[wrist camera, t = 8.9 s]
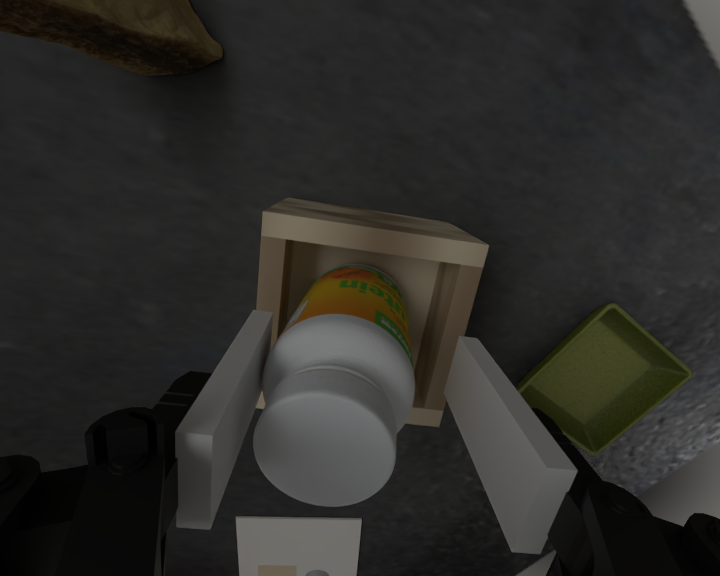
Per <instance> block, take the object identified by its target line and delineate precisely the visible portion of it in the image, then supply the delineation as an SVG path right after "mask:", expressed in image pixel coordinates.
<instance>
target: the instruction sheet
mask: <svg viewBox="0 0 720 576" xmlns="http://www.w3.org/2000/svg"><path fill="white" fill-rule="evenodd" d="M361 523H362V518H324V517H258V516H236V529H237V545H238V561H239V576H357V566H358V555H359V545H360V534H361Z"/></svg>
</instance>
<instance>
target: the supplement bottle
mask: <svg viewBox="0 0 720 576" xmlns="http://www.w3.org/2000/svg"><path fill="white" fill-rule="evenodd" d="M262 390H263V397H264V401H265V407H264V409H263V411H262V413H261V415H260V418H259V420H258V422H257V425H256V427H255V431H254V437H253V449H254V454H255V458H256V461H257V463H258V465H259V467H260V469H261V471H262V472H263V474H264V475H265V476H266V478H267V479H268V480H269V481H270V482H271V483H272V484H273V485H274V486H275V487H277V488H278V489H279V490H281V491H282V492H284V493H285V494H287V495H289V496H291V497H293V498H295V499H297V500H299V501H302V502H305V503H309V504H313V505H318V506H329V507H337V506H346V505H351V504H355V503H358V502H360V501H363V500H365V499H367V498H369V497H371V496H372V495H374V494H375V493H377V492H378V491H379V490H380V489H381V488H382V487H383V486H384V485H385V484H386V482H387V481H388V480H389V478H390V476H391V474H392V472H393V469H394V465H395V461H396V435H397V433H398V432H399V431H400V430H401V428H402V427H403V426H404V424H405V423H406V421H407V419H408V417H409V415H410V412H411V409H412V406H413V401H414V395H415V376H414V367H413V359H412V350H411V340H410V331H409V319H408V311H407V305H406V301H405V298H404V295H403V293H402V291H401V290H400V288H399V286H398V285H397V284H396V283H395V281H394V280H393V279H392V278H391V277H389V276H388V275H387V274H386V273H384V272H382V271H381V270H379V269H377V268H374V267H371V266H368V265H364V264H345V265H340V266H337V267H334V268H332V269H330V270H328V271H326V272H325V273H323V274H322V275H321V276H320V277H319V278H318V279H317V280H316V281H315V282H314V283H313V285H312V286H311V287H310V289H309V290H308V292H307V293H306V295H305V297H304V298H303V300H302V301H301V303H300V305H299V306H298V308H297V309H296V311H295V313H294V314H293V316H292V317H291V319H290V321H289V322H288V324H287V326H286V327H285V329H284V330H283V332H282V333H281V335H280V336H279V338H278V339H277V341H276V342H275V344H274V346H273V347H272V350H271V352H270V353H269V355H268V357H267V360H266V363H265V366H264V370H263V376H262Z"/></svg>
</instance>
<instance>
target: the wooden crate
mask: <svg viewBox="0 0 720 576" xmlns="http://www.w3.org/2000/svg"><path fill="white" fill-rule="evenodd" d="M488 248H489V245H488V244H486V243H484V242H483V241H481V240H479V239H477V238H475V237H474V236H472V235H470V234H468V233H467V232H465V231H463V230H461V229H459V228H458V227H456V226H454V225H452V224H450V223H449V222H444V221H438V220H431V219H425V218H418V217H412V216H405V215H399V214H392V213H386V212H379V211H373V210H366V209H360V208H353V207H347V206H341V205H334V204H328V203H321V202H315V201H308V200H302V199H295V198H289V197H288V198H286V199H284V200H282V201H281V202H279V203H277V204H275V205H273V206H271V207H270V208H268V209H266V210H264V211H263V217H262V232H261V247H260V262H259V277H258V292H257V307H256V310H259V311H267V312H273V324H272V336H271V348H270V352H271V350H272V347H273V346H274V344H275V342H276V341H277V339H278V338H279V336H280V335H281V333H282V332H283V330H284V329H285V327H286V326H287V324H288V322H289V321H290V319H291V317H292V316H293V314H294V313H295V311H296V309H297V308H298V306H299V305H300V303H301V301H302V300H303V298H304V297H305V295H306V293H307V292H308V290H309V289H310V287H311V286H312V285H313V283H314V282H315V281H316V280H317V279H318V278H319V277H320V276H321V275H322V274H323V273H325V272H326V271H328V270H330V269H332V268H334V267H337V266H340V265H345V264H364V265H368V266H371V267H374V268H377V269H379V270H381V271H382V272H384V273H386V274H387V275H388V276H389V277H391V278H392V279H393V280H394V281H395V283H396V284H397V285H398V286H399V288H400V290H401V291H402V293H403V295H404V298H405V301H406V305H407V311H408V319H409V331H410V340H411V350H412V359H413V367H414V376H415V395H414V401H413V406H412V409H411V412H410V415H409V417H408V419H407V421H406V423H405V424H414V425H424V426H433V427H439V425H440V422H441V418H442V415H443V411H444V407H445V404H446V398H445V395H444V390H445V386H446V383H447V379H448V375H449V372H450V368H451V364H452V360H453V357H454V353H455V349H456V346H457V342H458V338H459V336H464V335H465V331H466V328H467V324H468V321H469V317H470V313H471V310H472V306H473V302H474V299H475V295H476V292H477V288H478V284H479V281H480V277H481V274H482V270H483V266H484V263H485V259H486V255H487V252H488ZM264 407H265V401H264V397H263V390H262V392H261V395H260V397H259V400H258V403H257V405H256V408H260V409H264Z"/></svg>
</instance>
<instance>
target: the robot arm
mask: <svg viewBox="0 0 720 576" xmlns="http://www.w3.org/2000/svg"><path fill="white" fill-rule="evenodd" d="M272 324H273V312H267V311H259V310H253V311H252V313H251V314H250V316H249V317H248V319H247V321H246V322H245V324H244V325H243V327H242V328H241V330H240V332H239V333H238V335H237V336H236V338H235V339H234V341H233V342H232V344H231V346H230V347H229V349H228V350H227V352H226V353H225V355H224V356H223V358H222V360H221V361H220V363H219V364H218V366H217V367H216V369H215V371H214V372H213V374H211V373H202V372H193V371H190V372H188V373H186V374H185V375H183V376H181V377H180V378H178V379H177V380H175V381H174V383H173V384H172V385H171V386H170V388H169V389H168V390H167V391H166V394H164V395H163V396H162V398H161V399H160V400H159V402H158V404H156V405H155V407H154V408H153V409H149V408H145V407H131V408H126V409H122V410H117V411H114V412H112V413H110V414H107V415H105V416H103V417H101V418H100V419H99V420H97V421H96V422H95V423H93V424H92V425H91V426H90V427H89V429H88V430H87V432H86V433H85V442H86V451H87V460H88V465H84V466H80V467H75V468H69V469H62V470H56V471H49V472H43V473H41V470H40V464H39V462H38V461H37V460H35V459H34V458H33V457H30V456H23V455H13V456H6V457H0V576H165V566H166V550H167V529H168V527H169V525H170V523H171V521H172V519H173V517H174V515H175V513H176V527H180V528H193V529H207V530H210V529H211V526H212V523H213V521H214V518H215V515H216V512H217V510H218V507H219V504H220V502H221V499H222V496H223V494H224V491H225V488H226V486H227V483H228V480H229V478H230V475H231V472H232V470H233V467H234V464H235V462H236V459H237V456H238V454H239V451H240V448H241V445H242V443H243V440H244V437H245V435H246V432H247V429H248V427H249V424H250V421H251V419H252V416H253V413H254V411H255V408H256V405H257V403H258V400H259V397H260V395H261V392H262V376H263V370H264V366H265V363H266V360H267V357H268V355H269V353H270V348H271V336H272ZM444 395H445V398H446V400H447V402H448V405H449V407H450V409H451V412H452V414H453V416H454V419H455V421H456V423H457V426H458V428H459V430H460V433H461V435H462V437H463V440H464V442H465V444H466V447H467V449H468V451H469V454H470V456H471V458H472V461H473V463H474V465H475V468H476V470H477V472H478V475H479V477H480V479H481V482H482V484H483V486H484V489H485V491H486V493H487V496H488V498H489V500H490V503H491V505H492V507H493V510H494V512H495V514H496V517H497V519H498V521H499V524H500V526H501V528H502V531H503V533H504V535H505V538H506V540H507V542H508V545H509V547H510V549H511V552H518V553H531V554H541V551H542V549H543V547H544V545H545V543H546V540H547V538H548V537H549V539H550V541H551V543H552V544H553V546H554V548H555V550H556V552H557V553H556V555H555V557H554V559H553V561H552V564H551V566H550V568H549V570H548V572H547V574H546V576H720V519H718V518H716V517H713V516H710V515H707V514H704V513H694V514H693V515H691V516H690V517H689V519H688V520H687V522H686V524H685V525H684V527H683V526H680V525H677V524H674V523H672V522H668V521H666V520H663V519H660V518H657V517H654V516H652V514H651V513H650V511H649V510H648V508H647V507H646V506H645V505H644V504H643V503H642V502H641V501H640V500H639V499H638V498H637V497H635V496H634V495H632V494H631V493H629V492H628V491H626V490H625V489H623V488H621V487H619V486H617V485H615V484H613V483H610V482H605V481H602V479H601V478H600V477H599V476H598V475H597V473H596V472H595V471H594V470H593V468H592V467H591V466H590V465H589V463H588V462H587V461H586V460H585V459H584V457H583V456H582V455H581V454H580V452H579V451H578V450H577V449H576V448H575V446H574V445H572V444H571V441H570V440H569V439H568V438H567V436H566V435H563V432H562V430H561V429H560V428H559V427H558V425H557V424H556V423H555V422H554V420H553V419H551V418H550V417H549V416H547V415H546V414H545V413H544V412H542V411H541V410H540V409H538V408H530V407H529V406H528V404H527V403H526V402H525V400H524V399H523V398H522V396H521V395H520V394H519V392H518V391H517V390H516V388H515V387H514V386H513V384H512V383H511V382H510V380H509V379H508V378H507V377H506V375H505V374H504V373H503V371H502V370H501V369H500V367H499V366H498V365H497V363H496V362H495V361H494V359H493V358H492V357H491V355H490V354H489V353H488V352H487V350H486V349H485V348H484V346H483V345H482V344H481V342H480V341H479V340H478V338H472V337H464V336H459V338H458V342H457V346H456V349H455V353H454V357H453V360H452V364H451V368H450V372H449V375H448V379H447V383H446V386H445V390H444Z"/></svg>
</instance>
